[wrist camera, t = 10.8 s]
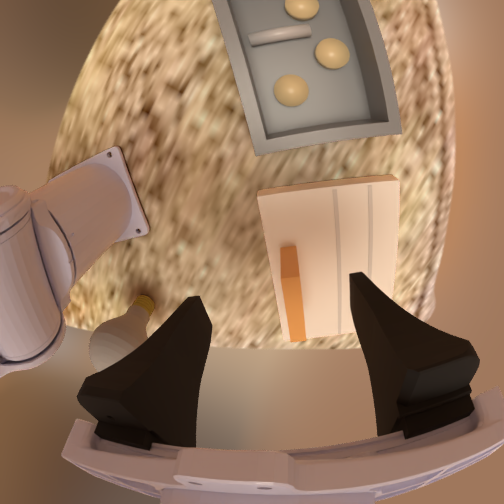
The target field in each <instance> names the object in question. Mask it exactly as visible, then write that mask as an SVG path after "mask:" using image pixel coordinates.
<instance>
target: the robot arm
mask: <svg viewBox="0 0 504 504" xmlns="http://www.w3.org/2000/svg"><path fill="white" fill-rule="evenodd" d="M110 152H111V153H112V157H111V156H110V155H109V153H110ZM137 228H138V229H140V230H141V232H139V231H138V229H137ZM149 230H150V228H149V225H148V223H147V220H146V218H145V215H144V213H143V210H142V207H141V205H140V202H139V200H138V197H137V194H136V192H135V189H134V186H133V183H132V181H131V178H130V175H129V172H128V169H127V166H126V163H125V161H124V158H123V155H122V151H121V149H120V147H118V146H114V147H111V148H109V149H107V150H105V151H103V152H101V153H99V154H97V155H95V156H93V157H91V158H89V159H87V160H85V161H83V162H81V163H79V164H77V165H75V166H74V167H72V168H70V169H68V170H66V171H64V172H63V173H61V174H59V175H57V176H56V177H54V178H52V179H51V180H49V181H48V184H46V185H44V186H42V187H40V188H38V189H36V190H35V191H33V192H31V193H28V192H27V191H25V190H22V189H20V188H19V187H17V186H3V187H0V378H1V377H2V376H4V375H6V374H8V373H10V372H13V371H18V370H26V369H31V368H34V367H36V366H39V365H41V364H42V363H44V362H45V361H47V360H48V359H49V358H50V357H51V356H53V354H54V353H55V352H56V351H57V350H58V348H59V347H60V345H61V343H62V341H63V339H64V336H65V331H66V323H65V318H64V315H63V313H62V312H63V310H64V309H65V308H66V306H67V305H68V304H69V303H70V301H71V300H70V290H71V288H72V287H73V286H74V285H75V284H76V283H77V282H78V280H79V279H80V278H81V277H82V276H83V275H84V274H85V273H86V272H87V270H88V269H89V268H90V267H91V266H92V265H93V264H94V263H95V262H96V261H97V260H98V259H99V257H100V256H101V255H102V254H103V253H104V252H105V251H106V250H107V249H108V248H109V247H110V246H111V245H112V244H113V243H116V242H119V241H123V240H127V239H131V238H135V237H139V236H143V235H146V234H147V233H148V232H149ZM349 285H350V309H351V314H352V318H353V323H354V327H355V330H356V332H357V335H358V338H359V341H360V344H361V347H362V350H363V353H364V356H365V359H366V362H367V366H368V370H369V375H370V381H371V386H372V393H373V399H374V406H375V414H376V423H377V435H378V437H375V438H370V439H365V440H361V441H355V442H350V443H344V444H338V445H331V446H324V447H316V448H307V449H296V450H279V451H269V450H267V451H266V450H224V449H207V448H196V418H197V407H198V397H199V389H200V383H201V378H202V374H203V371H204V366H205V363H206V359H207V355H208V351H209V347H210V343H211V334H212V323H211V321H210V319H209V317H208V314H207V312H206V310H205V307H204V305H203V303H202V300H201V298H200V296H193V297H188V298H187V299H186V300H185V301H184V302H183V303H182V304H181V305H180V306H179V307H178V308H177V309H176V310H175V312H174V313H173V314H172V315H171V316H170V317H169V318H168V319H167V320H166V321H165V322H164V323H163V324H162V325H161V326H160V327H159V328H158V329H157V330H156V331H155V332H154V333H153V334H152V335H151V336H150V337H149V338H148V339H147V340H146V341H145V342H144V343H142V344H141V345H140V346H139V347H138V348H136V349H135V350H134V351H132V352H131V353H129V354H128V355H127V356H125V357H124V358H122V359H121V360H119V361H118V362H116V363H114V364H113V365H111V366H109V367H107V368H106V369H104V370H102V371H99V372H98V373H95V374H93V375H91V376H88V377H86V379H85V381H84V383H83V385H82V387H81V389H80V391H79V393H78V395H77V399H78V401H79V403H80V404H81V405H82V406H83V407H84V408H85V409H86V410H87V411H88V412H89V413H90V414H91V415H92V416H94V417H95V418H96V419H97V420H98V424H97V425H95V424H93V423H91V422H88V421H84V420H81V419H76V421H75V423H74V425H73V428H72V430H71V433H70V435H69V437H68V439H67V442H66V444H65V447H64V449H63V452H62V454H61V455H62V457H63V458H65V459H66V460H68V461H70V462H71V463H73V464H74V465H76V466H78V467H79V468H81V469H83V470H85V471H86V472H88V473H90V474H92V475H94V476H96V477H99V478H101V479H104V480H106V481H109V482H111V483H114V484H117V485H119V486H122V487H125V488H128V489H131V490H134V491H137V492H140V493H143V494H146V495H150V496H153V497H156V498H160V499H161V501H160V504H375V501H379V500H383V499H386V498H390V497H393V496H396V495H399V494H403V493H406V492H409V491H412V490H415V489H417V488H420V487H423V486H425V485H428V484H430V483H433V482H435V481H438V480H440V479H442V478H445V477H447V476H449V475H451V474H454V473H455V472H458V471H460V470H462V469H464V468H466V467H468V466H470V465H472V464H474V463H476V462H478V461H480V460H482V459H484V458H485V457H487V456H489V455H490V454H491V453H493V452H494V451H495V450H497V449H498V448H499V447H500V446H502V445H503V444H504V398H503V396H502V393H501V391H500V389H499V387H498V386H496V387H494V388H492V389H490V390H488V391H486V392H484V393H481V394H480V395H478V396H476V397H475V398H474V399H473V400H471V397H470V393H471V391H472V390H471V387H470V385H469V383H470V381H471V380H472V378H473V376H474V375H475V373H476V371H477V369H478V367H479V363H480V359H479V358H478V356H477V354H476V351H475V350H474V348H473V346H472V345H471V343H470V342H469V341H468V340H465V339H462V338H459V337H456V336H453V335H450V334H448V333H445V332H443V331H440V330H438V329H436V328H434V327H432V326H430V325H428V324H427V323H425V322H423V321H421V320H419V319H418V318H416V317H414V316H413V315H411V314H410V313H408V312H407V311H405V310H404V309H403V308H401V307H400V306H399V305H398V304H396V303H395V302H394V301H393V300H392V299H390V298H389V297H388V296H387V295H386V294H385V293H384V292H383V291H381V290H380V289H379V288H378V287H377V286H376V285H375V284H374V283H373V282H372V281H371V280H370V279H369V278H368V277H367V276H366V275H365V274H364V273H363V272H362V271H361V272H356V273H350V274H349Z"/></svg>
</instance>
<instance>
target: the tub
mask: <svg viewBox="0 0 504 504" xmlns="http://www.w3.org/2000/svg"><path fill="white" fill-rule="evenodd" d="M212 2H213V5H214V9H215V12H216V15H217V18H218V22H219V25H220V28H221V32H222V35H223V38H224V42H225V45H226V48H227V52H228V55H229V59H230V62H231V66H232V69H233V73H234V76H235V80H236V84H237V87H238V91H239V94H240V98H241V102H242V105H243V109H244V113H245V116H246V120H247V124H248V128H249V132H250V135H251V139H252V143H253V147H254V151H255V155H256V156H259V155H264V154H269V153H273V152H278V151H283V150H289V149H294V148H299V147H305V146H311V145H317V144H323V143H329V142H336V141H343V140H351V139H358V138H367V137H376V136H386V135H397V134H402V128H401V121H400V114H399V108H398V102H397V97H396V91H395V86H394V82H393V77H392V73H391V68H390V64H389V60H388V56H387V53H386V49H385V45H384V42H383V38H382V35H381V32H380V29H379V25H378V22H377V19H376V17H375V14H374V11H373V8H372V5H371V3H370V0H212Z"/></svg>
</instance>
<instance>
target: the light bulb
mask: <svg viewBox="0 0 504 504" xmlns="http://www.w3.org/2000/svg"><path fill="white" fill-rule="evenodd" d="M154 308H155V306H154V302H153V301H152V300H151V299H150V298H149V297H148V296H145V295H140V296H138V297H137V298H136V300H135V301H134V303H133V305H132V306H130V307H129V309H128V311H127V313H125V314H124V315H122V316H120V317H117V318H114V319H111V320H108V321H106V322H104V323H102V324H101V325H100V326H98V327H97V328H96V329H95V331H94V333H93V334H92V336H91V338H90V343H89V355H90V359H91V362H92V364H93V365H94V367H95V368H96V370H97V371H98V372H99V371H102V370H104V369H106V368H107V367H109V366H111V365H113V364H114V363H116V362H118V361H119V360H121V359H122V358H124V357H125V356H127V355H128V354H129V353H131V352H132V351H134V350H135V349H136V348H138V347H139V346H140V345H141V344H142V343H144V342H145V341H146V340H147V339H148V337H147V332H146V325H147V323H148V321H149V319H150V316H151V314H152V312H153V310H154Z"/></svg>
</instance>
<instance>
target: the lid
mask: <svg viewBox="0 0 504 504" xmlns="http://www.w3.org/2000/svg"><path fill="white" fill-rule="evenodd" d="M257 200H258V205H259V210H260V216H261V221H262V226H263V231H264V236H265V241H266V247H267V252H268V257H269V262H270V268H271V273H272V278H273V284H274V289H275V295H276V300H277V306H278V311H279V317H280V322H281V328H282V333H283V339H284V341H291V342H298V341H306V339H309V338H317V337H325V336H332V335H339V334H346V333H353V332H356V330H355V327H354V323H353V318H352V314H351V309H350V285H349V274H350V273H356V272H361V271H362V272H363V273H364V274H365V275H366V276H367V277H368V278H369V279H370V280H371V281H372V282H373V283H374V284H375V285H376V286H377V287H378V288H379V289H380V290H381V291H383V292H384V293H385V294H386V295H387V296H388V297H389V298H390V299H392V296H393V288H394V280H395V271H396V261H397V249H398V234H399V206H400V180H399V179H397V178H396V177H394V176H393V175H379V176H368V177H357V178H347V179H337V180H328V181H320V182H312V183H304V184H296V185H289V186H282V187H275V188H268V189H261V190H258V193H257Z"/></svg>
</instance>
